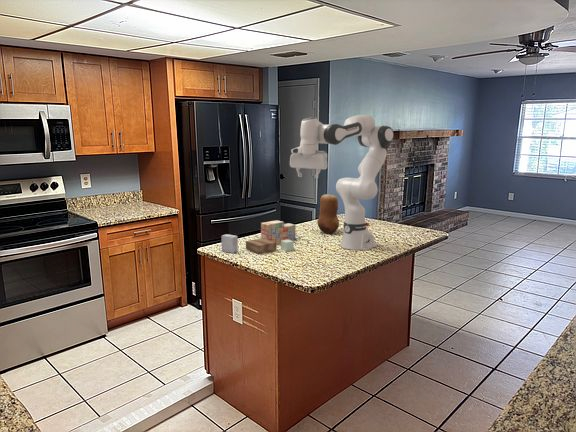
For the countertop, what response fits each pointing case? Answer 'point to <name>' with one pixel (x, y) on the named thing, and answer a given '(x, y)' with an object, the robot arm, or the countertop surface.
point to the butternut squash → (328, 214)
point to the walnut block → (260, 246)
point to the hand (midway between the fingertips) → (308, 177)
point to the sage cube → (287, 245)
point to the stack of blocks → (278, 231)
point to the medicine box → (229, 243)
